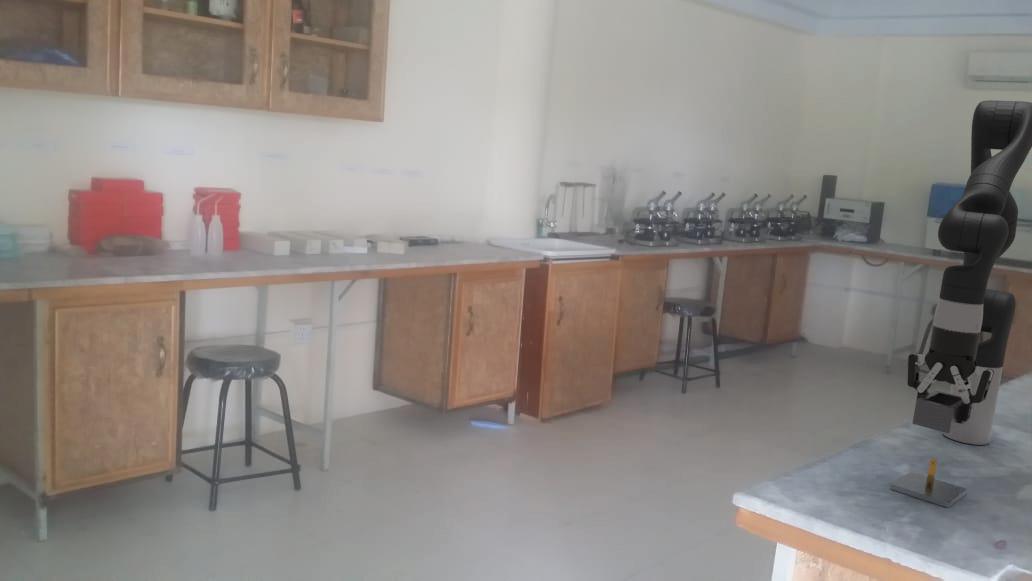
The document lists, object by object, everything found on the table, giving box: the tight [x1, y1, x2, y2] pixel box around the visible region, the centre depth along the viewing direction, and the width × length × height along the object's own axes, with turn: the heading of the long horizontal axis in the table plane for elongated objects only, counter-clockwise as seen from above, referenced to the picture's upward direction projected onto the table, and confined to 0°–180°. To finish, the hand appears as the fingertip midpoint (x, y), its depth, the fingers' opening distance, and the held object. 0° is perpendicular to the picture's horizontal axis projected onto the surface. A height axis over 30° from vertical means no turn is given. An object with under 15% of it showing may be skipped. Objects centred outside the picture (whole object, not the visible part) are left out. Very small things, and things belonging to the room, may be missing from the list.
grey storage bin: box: [912, 390, 968, 434], centre depth 159 cm, size 10×6×4 cm, turn 137°
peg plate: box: [889, 458, 968, 509], centre depth 161 cm, size 10×10×6 cm
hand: (941, 417), depth 159 cm, fingers closed on grey storage bin, 6 cm apart
